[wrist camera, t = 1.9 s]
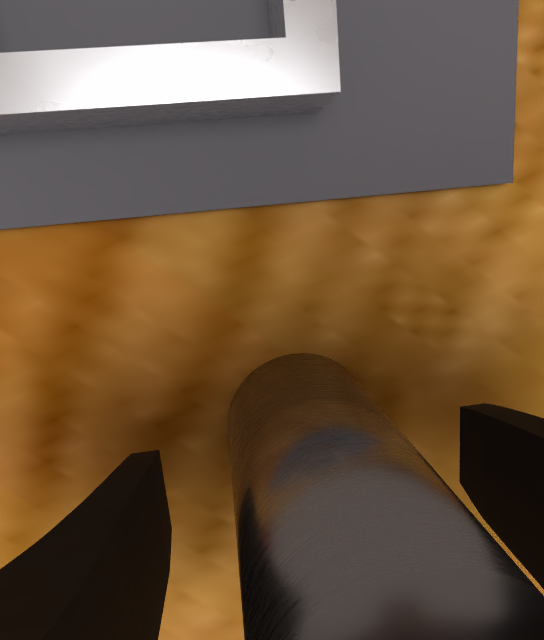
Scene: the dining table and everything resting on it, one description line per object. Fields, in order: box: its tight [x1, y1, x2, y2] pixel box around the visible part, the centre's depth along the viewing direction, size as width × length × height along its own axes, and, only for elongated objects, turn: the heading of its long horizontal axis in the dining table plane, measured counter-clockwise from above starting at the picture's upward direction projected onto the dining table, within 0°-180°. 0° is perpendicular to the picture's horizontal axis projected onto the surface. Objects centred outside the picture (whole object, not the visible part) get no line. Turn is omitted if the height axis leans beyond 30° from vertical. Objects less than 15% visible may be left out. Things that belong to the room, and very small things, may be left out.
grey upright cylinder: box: [228, 353, 544, 640], centre depth 9 cm, size 4×4×8 cm
